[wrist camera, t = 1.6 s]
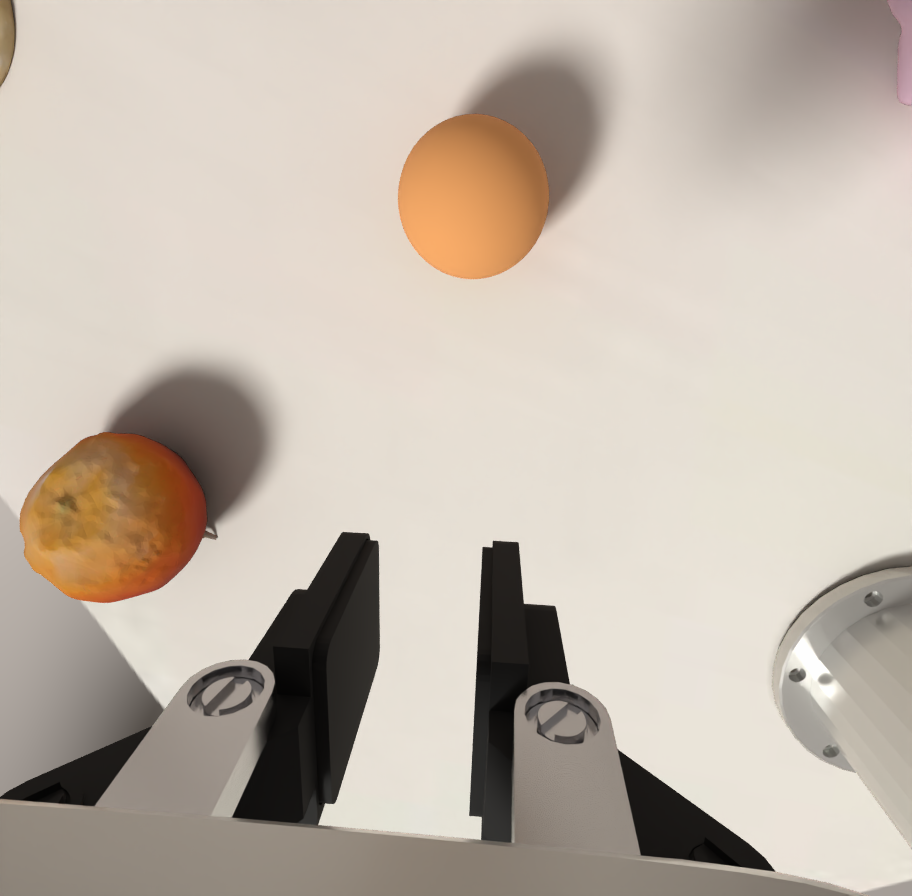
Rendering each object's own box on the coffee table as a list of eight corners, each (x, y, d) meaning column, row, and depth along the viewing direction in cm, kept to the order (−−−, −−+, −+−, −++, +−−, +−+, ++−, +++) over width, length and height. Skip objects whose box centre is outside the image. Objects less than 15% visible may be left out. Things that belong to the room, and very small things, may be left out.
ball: (547, 136, 24) (564, 93, 19) (537, 281, 26) (549, 281, 20) (410, 134, 25) (384, 90, 19) (409, 276, 27) (385, 276, 21)
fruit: (129, 614, 31) (-16, 623, 24) (120, 478, 34) (-16, 448, 26) (259, 578, 30) (150, 576, 23) (241, 440, 32) (135, 396, 25)
